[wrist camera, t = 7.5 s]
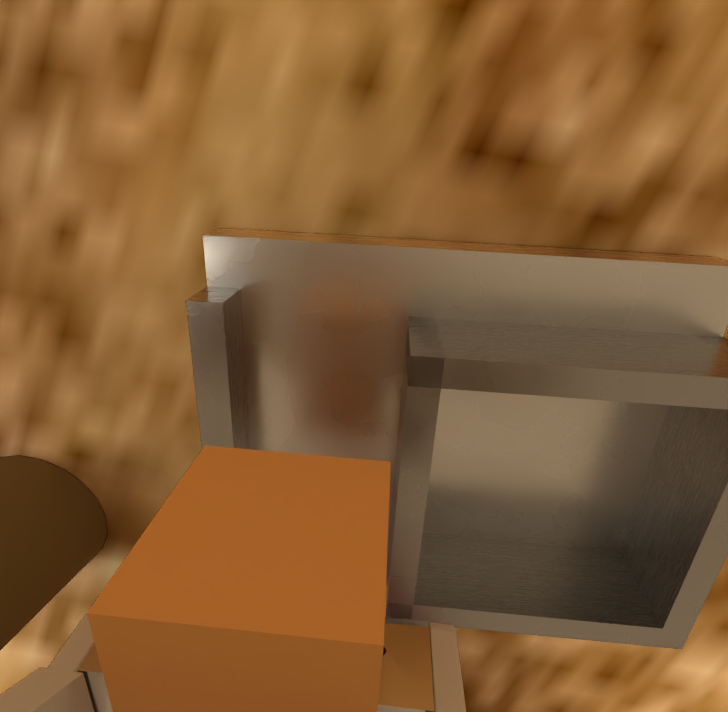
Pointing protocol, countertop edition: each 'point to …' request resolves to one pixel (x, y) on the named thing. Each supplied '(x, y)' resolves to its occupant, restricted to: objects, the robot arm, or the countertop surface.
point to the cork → (41, 536)
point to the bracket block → (253, 589)
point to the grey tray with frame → (491, 415)
